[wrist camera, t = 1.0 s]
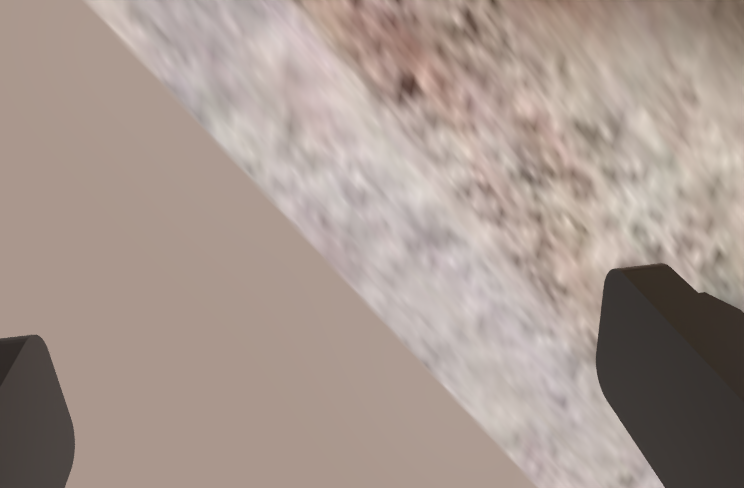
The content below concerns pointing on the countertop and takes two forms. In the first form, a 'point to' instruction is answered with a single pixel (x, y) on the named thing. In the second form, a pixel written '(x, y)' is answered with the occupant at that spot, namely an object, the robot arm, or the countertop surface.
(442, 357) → the countertop surface
